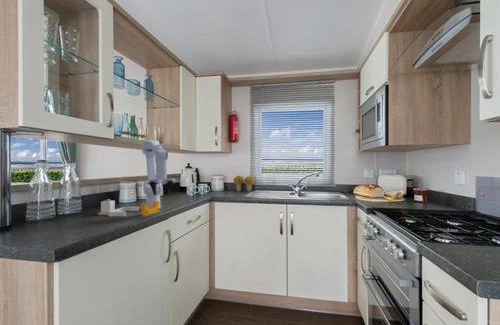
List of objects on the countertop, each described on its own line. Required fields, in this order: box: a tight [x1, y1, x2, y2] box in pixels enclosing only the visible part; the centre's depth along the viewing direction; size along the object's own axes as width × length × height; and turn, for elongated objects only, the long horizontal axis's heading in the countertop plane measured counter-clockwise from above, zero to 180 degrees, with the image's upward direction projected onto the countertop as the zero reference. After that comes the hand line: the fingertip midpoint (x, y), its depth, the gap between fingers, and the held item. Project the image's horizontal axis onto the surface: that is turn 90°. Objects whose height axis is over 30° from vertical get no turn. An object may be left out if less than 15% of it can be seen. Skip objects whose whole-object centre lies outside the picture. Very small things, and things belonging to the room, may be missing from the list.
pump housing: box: [97, 198, 116, 216], centre depth 141 cm, size 7×7×8 cm
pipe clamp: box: [140, 201, 160, 216], centre depth 141 cm, size 12×4×6 cm, turn 162°
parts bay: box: [108, 205, 141, 218], centre depth 141 cm, size 18×9×2 cm, turn 0°
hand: (161, 195), depth 140 cm, fingers open, 7 cm apart
